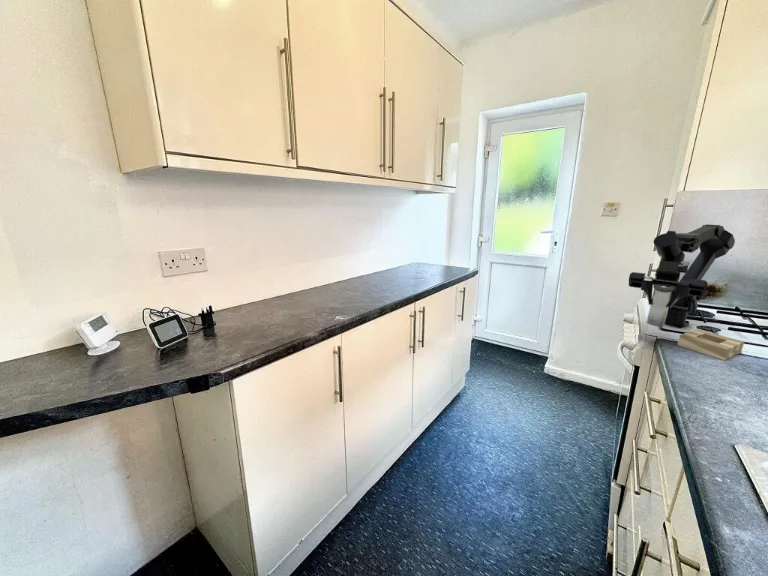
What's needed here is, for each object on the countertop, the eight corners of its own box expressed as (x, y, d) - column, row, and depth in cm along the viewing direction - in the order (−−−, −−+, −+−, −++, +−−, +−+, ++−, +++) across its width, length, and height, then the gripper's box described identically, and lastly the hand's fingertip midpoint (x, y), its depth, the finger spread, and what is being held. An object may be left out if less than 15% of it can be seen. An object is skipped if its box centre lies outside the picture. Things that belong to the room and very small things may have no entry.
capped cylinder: (656, 320, 104) (665, 283, 101) (669, 326, 99) (679, 287, 96) (641, 321, 104) (649, 283, 101) (653, 327, 99) (663, 287, 96)
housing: (694, 338, 105) (697, 328, 104) (741, 352, 95) (744, 341, 94) (677, 345, 100) (679, 335, 99) (724, 360, 90) (727, 349, 90)
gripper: (635, 248, 104) (623, 287, 100) (715, 254, 92) (705, 299, 87) (634, 267, 112) (623, 304, 107) (708, 275, 99) (698, 317, 95)
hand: (659, 305), depth 99 cm, fingers closed on capped cylinder, 4 cm apart
